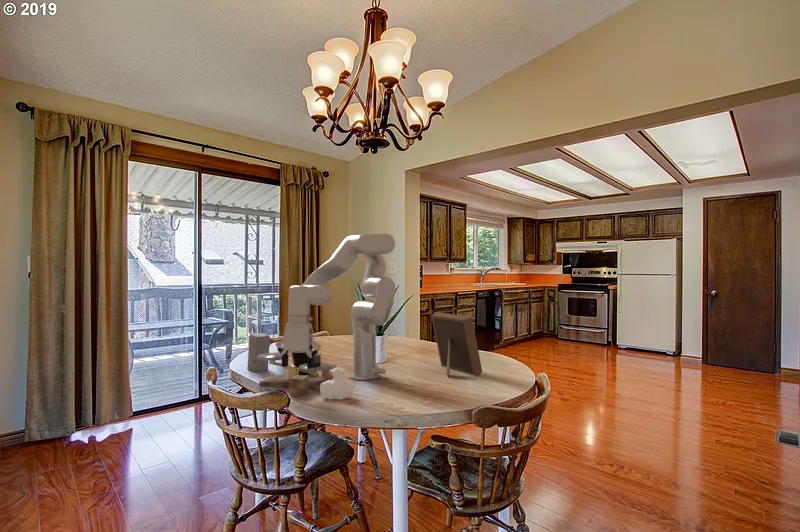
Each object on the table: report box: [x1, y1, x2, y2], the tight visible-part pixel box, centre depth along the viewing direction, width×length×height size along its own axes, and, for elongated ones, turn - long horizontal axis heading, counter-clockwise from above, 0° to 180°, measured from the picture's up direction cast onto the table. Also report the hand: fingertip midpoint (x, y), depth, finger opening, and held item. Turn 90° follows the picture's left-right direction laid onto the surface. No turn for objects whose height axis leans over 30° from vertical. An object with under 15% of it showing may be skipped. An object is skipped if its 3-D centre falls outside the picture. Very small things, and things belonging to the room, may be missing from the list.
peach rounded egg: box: [320, 362, 337, 381], centre depth 164 cm, size 6×6×6 cm
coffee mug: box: [291, 351, 309, 376], centre depth 175 cm, size 12×9×10 cm
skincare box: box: [247, 332, 271, 373], centre depth 180 cm, size 8×7×16 cm
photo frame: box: [430, 311, 483, 378], centre depth 175 cm, size 15×22×25 cm
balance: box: [257, 351, 331, 381], centre depth 158 cm, size 30×12×10 cm, turn 77°
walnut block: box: [289, 375, 310, 397], centre depth 146 cm, size 5×5×6 cm
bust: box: [319, 366, 355, 401], centre depth 142 cm, size 12×8×11 cm
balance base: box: [258, 374, 327, 390], centre depth 158 cm, size 24×10×2 cm, turn 77°
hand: (297, 367), depth 145 cm, fingers open, 9 cm apart
